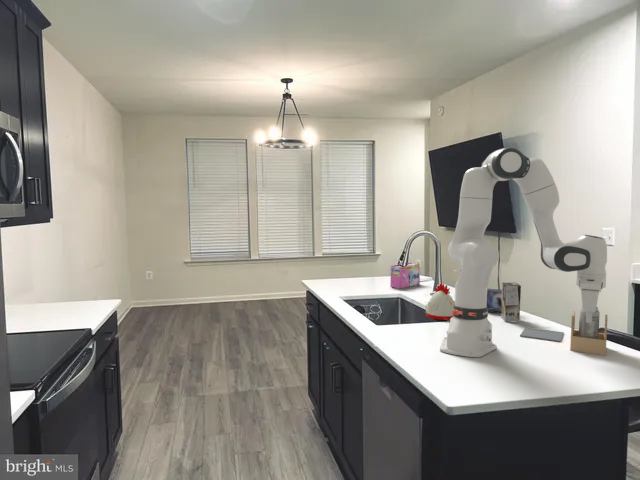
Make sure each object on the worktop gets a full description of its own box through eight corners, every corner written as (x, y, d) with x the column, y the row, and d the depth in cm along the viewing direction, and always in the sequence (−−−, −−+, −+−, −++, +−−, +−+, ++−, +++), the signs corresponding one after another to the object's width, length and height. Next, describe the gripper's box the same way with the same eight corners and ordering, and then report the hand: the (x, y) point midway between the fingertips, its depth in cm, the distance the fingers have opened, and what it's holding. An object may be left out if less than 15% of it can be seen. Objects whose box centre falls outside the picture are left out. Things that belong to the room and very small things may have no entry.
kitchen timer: (441, 321, 203) (442, 287, 202) (419, 315, 215) (420, 283, 214) (463, 317, 211) (464, 284, 210) (440, 311, 222) (441, 280, 221)
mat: (560, 342, 172) (560, 340, 172) (519, 336, 180) (520, 335, 179) (563, 333, 184) (563, 332, 184) (525, 328, 191) (525, 327, 191)
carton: (605, 355, 157) (607, 320, 156) (570, 350, 162) (571, 316, 162) (605, 347, 166) (607, 314, 165) (572, 342, 171) (573, 310, 171)
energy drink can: (594, 346, 166) (596, 305, 165) (600, 351, 160) (602, 309, 159) (575, 345, 168) (577, 304, 167) (581, 350, 162) (583, 308, 161)
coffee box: (520, 322, 202) (521, 285, 200) (504, 321, 203) (505, 285, 202) (515, 317, 210) (516, 282, 209) (500, 316, 212) (501, 281, 211)
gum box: (410, 282, 306) (410, 262, 305) (421, 284, 301) (421, 263, 300) (389, 287, 289) (390, 265, 288) (400, 289, 283) (401, 266, 282)
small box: (482, 312, 221) (483, 290, 221) (483, 309, 227) (484, 288, 227) (506, 314, 217) (507, 292, 217) (506, 311, 223) (507, 289, 223)
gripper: (582, 276, 173) (580, 313, 174) (579, 284, 156) (577, 325, 156) (601, 278, 170) (599, 315, 171) (601, 286, 152) (599, 327, 153)
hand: (589, 320), depth 163 cm, fingers closed on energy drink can, 6 cm apart
